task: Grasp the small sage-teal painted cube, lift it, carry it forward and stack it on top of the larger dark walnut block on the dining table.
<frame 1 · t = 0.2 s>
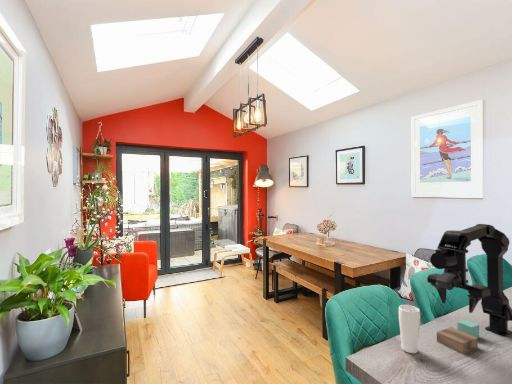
hand: (456, 307, 101), 14 cm above the table, fingers open, 9 cm apart
teal cube: (468, 335, 109), on the table
walnut block: (456, 345, 102), on the table
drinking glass: (409, 350, 99), on the table
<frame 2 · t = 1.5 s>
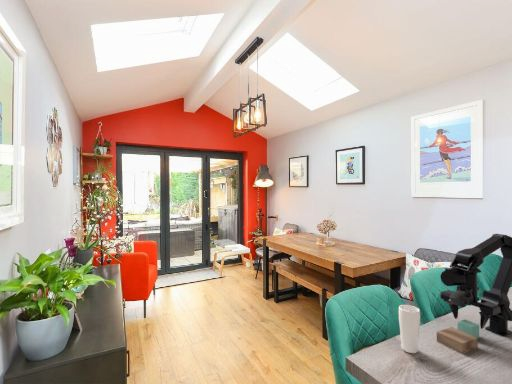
hand: (468, 323, 109), 5 cm above the table, fingers open, 9 cm apart
nothing on the table moved.
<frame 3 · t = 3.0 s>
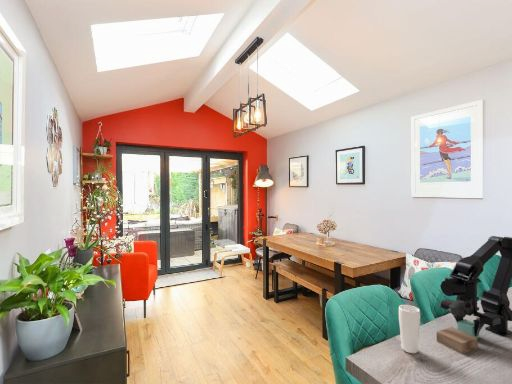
hand: (468, 333, 109), 1 cm above the table, fingers closed on teal cube, 5 cm apart
teal cube: (468, 335, 109), on the table, touching gripper
everything else where it was.
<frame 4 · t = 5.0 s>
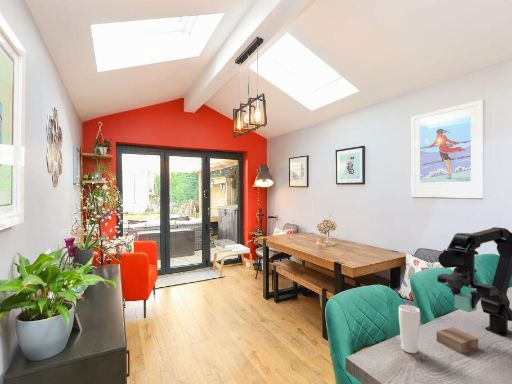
hand: (465, 306, 108), 12 cm above the table, fingers closed on teal cube, 5 cm apart
teal cube: (465, 308, 108), point 11 cm above the table, touching gripper
everything else where it was.
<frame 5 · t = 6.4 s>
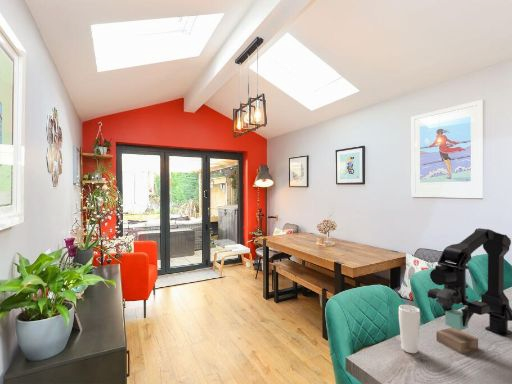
hand: (456, 323, 102), 8 cm above the table, fingers closed on teal cube, 5 cm apart
teal cube: (456, 326, 102), point 7 cm above the table, touching gripper
everything else where it was.
when the fingers open (6 cm above the table, at t = 7.4 s): teal cube drops 2 cm, point 4 cm above the table.
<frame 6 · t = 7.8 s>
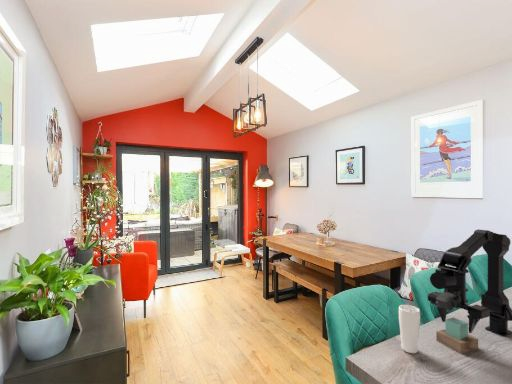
hand: (456, 327, 102), 6 cm above the table, fingers open, 9 cm apart
teal cube: (456, 334, 102), point 4 cm above the table
everything else where it was.
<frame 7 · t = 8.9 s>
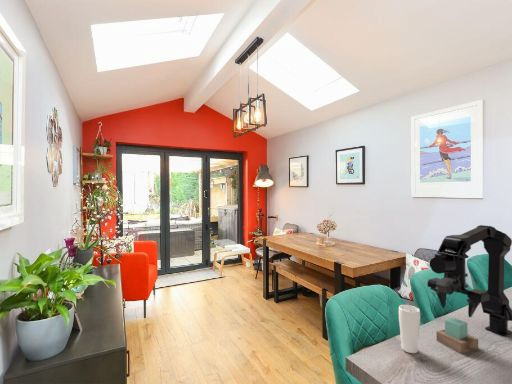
hand: (456, 312, 103), 12 cm above the table, fingers open, 9 cm apart
teal cube: (456, 334, 103), point 4 cm above the table, touching walnut block
walnut block: (456, 345, 102), on the table, touching teal cube
everything else where it was.
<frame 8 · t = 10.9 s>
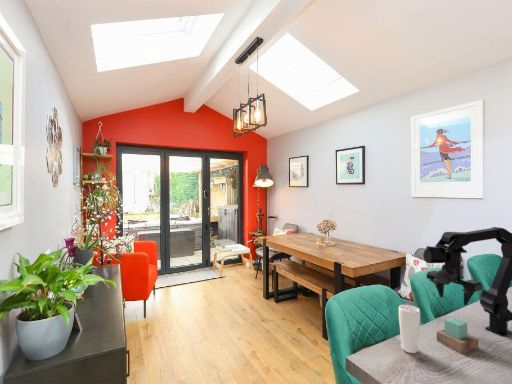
hand: (453, 301, 113), 12 cm above the table, fingers open, 9 cm apart
nothing on the table moved.
at the end: teal cube 0.4 cm off-centre on the walnut block, point 4.0 cm above the walnut block's base; teal cube tilted 0°; the gripper is holding nothing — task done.
